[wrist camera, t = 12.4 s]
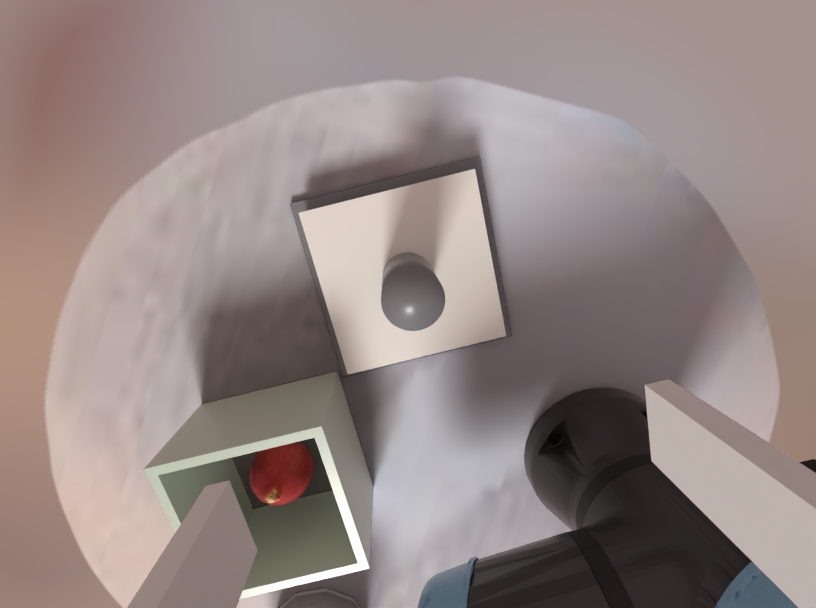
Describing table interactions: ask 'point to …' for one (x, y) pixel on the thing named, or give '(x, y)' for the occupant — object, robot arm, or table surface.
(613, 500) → the robot arm
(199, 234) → the table surface
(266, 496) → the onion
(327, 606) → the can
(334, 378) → the box
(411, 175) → the mat
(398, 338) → the lid
